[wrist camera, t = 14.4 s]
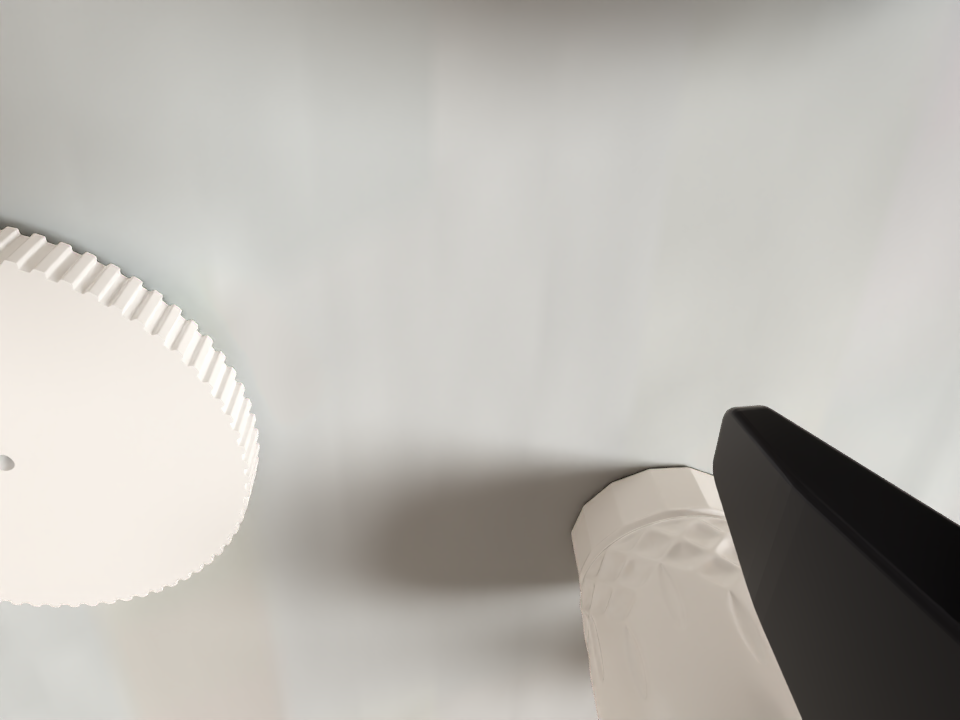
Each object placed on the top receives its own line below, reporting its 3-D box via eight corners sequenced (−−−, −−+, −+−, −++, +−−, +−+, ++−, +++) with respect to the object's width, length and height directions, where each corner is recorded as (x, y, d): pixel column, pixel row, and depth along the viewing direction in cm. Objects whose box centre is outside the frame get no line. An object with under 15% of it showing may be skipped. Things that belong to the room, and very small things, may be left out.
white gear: (273, 554, 27) (261, 610, 25) (-118, 544, 25) (-167, 604, 23) (252, 227, 19) (231, 269, 17) (-326, 175, 17) (-430, 216, 15)
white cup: (661, 420, 24) (789, 701, 16) (791, 507, 27) (954, 778, 19) (515, 542, 27) (558, 828, 19) (647, 607, 30) (732, 875, 22)
